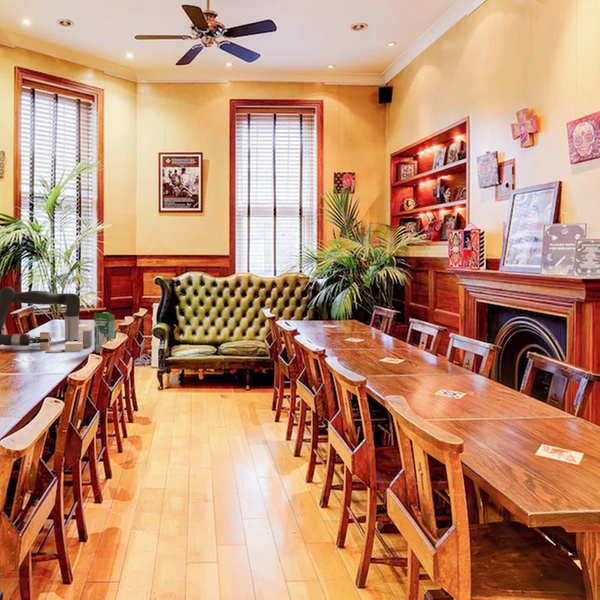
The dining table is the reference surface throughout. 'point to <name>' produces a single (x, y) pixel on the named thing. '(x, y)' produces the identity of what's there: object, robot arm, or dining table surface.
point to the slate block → (87, 338)
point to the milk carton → (103, 329)
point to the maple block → (45, 344)
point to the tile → (55, 350)
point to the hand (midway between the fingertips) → (49, 339)
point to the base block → (73, 345)
